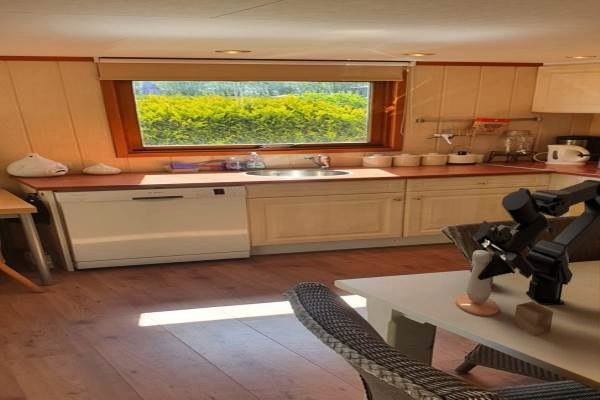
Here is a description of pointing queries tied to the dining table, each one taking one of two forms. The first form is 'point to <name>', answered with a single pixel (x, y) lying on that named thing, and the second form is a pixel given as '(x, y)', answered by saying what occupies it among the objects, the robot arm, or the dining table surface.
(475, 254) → the salt shaker
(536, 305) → the walnut block
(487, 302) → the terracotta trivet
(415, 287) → the dining table surface
